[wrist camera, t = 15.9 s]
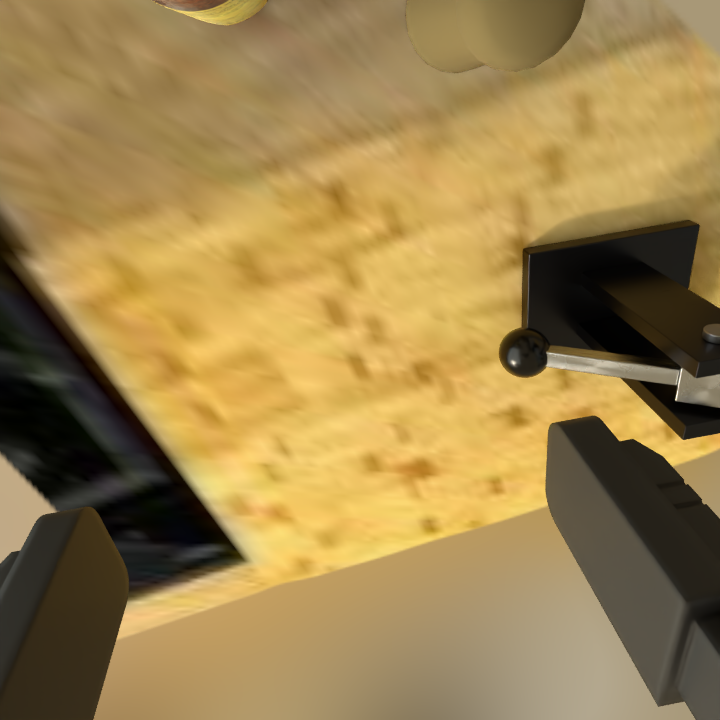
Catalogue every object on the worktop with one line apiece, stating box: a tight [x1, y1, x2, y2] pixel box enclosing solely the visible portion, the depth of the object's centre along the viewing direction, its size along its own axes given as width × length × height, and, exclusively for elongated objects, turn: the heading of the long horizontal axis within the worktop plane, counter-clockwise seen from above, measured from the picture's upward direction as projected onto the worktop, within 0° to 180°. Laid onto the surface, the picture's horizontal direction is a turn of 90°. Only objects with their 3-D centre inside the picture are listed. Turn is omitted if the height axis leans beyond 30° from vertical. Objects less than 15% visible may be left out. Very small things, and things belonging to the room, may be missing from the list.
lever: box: [499, 327, 720, 408], centre depth 33 cm, size 13×3×3 cm
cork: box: [405, 0, 585, 73], centre depth 26 cm, size 6×6×11 cm
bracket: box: [522, 220, 720, 440], centre depth 35 cm, size 12×9×14 cm
